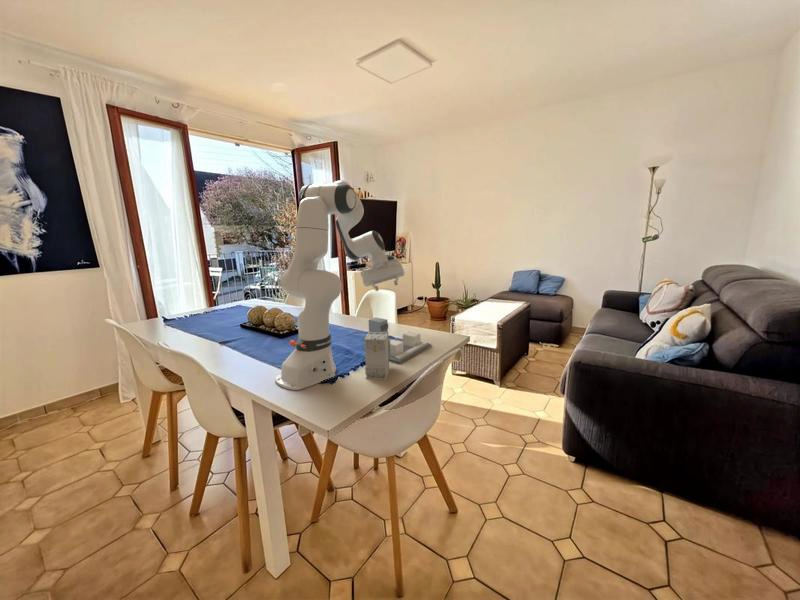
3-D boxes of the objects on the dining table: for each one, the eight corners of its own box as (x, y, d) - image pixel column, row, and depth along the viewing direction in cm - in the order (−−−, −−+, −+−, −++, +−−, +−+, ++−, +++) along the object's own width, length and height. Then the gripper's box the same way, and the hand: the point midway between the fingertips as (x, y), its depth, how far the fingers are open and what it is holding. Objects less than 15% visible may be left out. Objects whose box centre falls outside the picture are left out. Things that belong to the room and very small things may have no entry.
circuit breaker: (391, 363, 132) (390, 327, 128) (386, 379, 118) (385, 339, 114) (372, 362, 132) (371, 326, 129) (365, 378, 119) (364, 339, 115)
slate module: (382, 348, 148) (381, 322, 145) (369, 344, 152) (368, 319, 149) (388, 344, 152) (388, 319, 149) (376, 341, 156) (375, 317, 153)
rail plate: (399, 364, 130) (399, 349, 129) (373, 356, 139) (372, 342, 137) (431, 346, 149) (431, 333, 148) (406, 340, 157) (406, 328, 156)
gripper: (358, 267, 158) (363, 290, 151) (399, 255, 159) (406, 277, 152) (361, 274, 164) (366, 297, 156) (400, 263, 164) (408, 285, 157)
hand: (386, 287), depth 154 cm, fingers open, 8 cm apart
